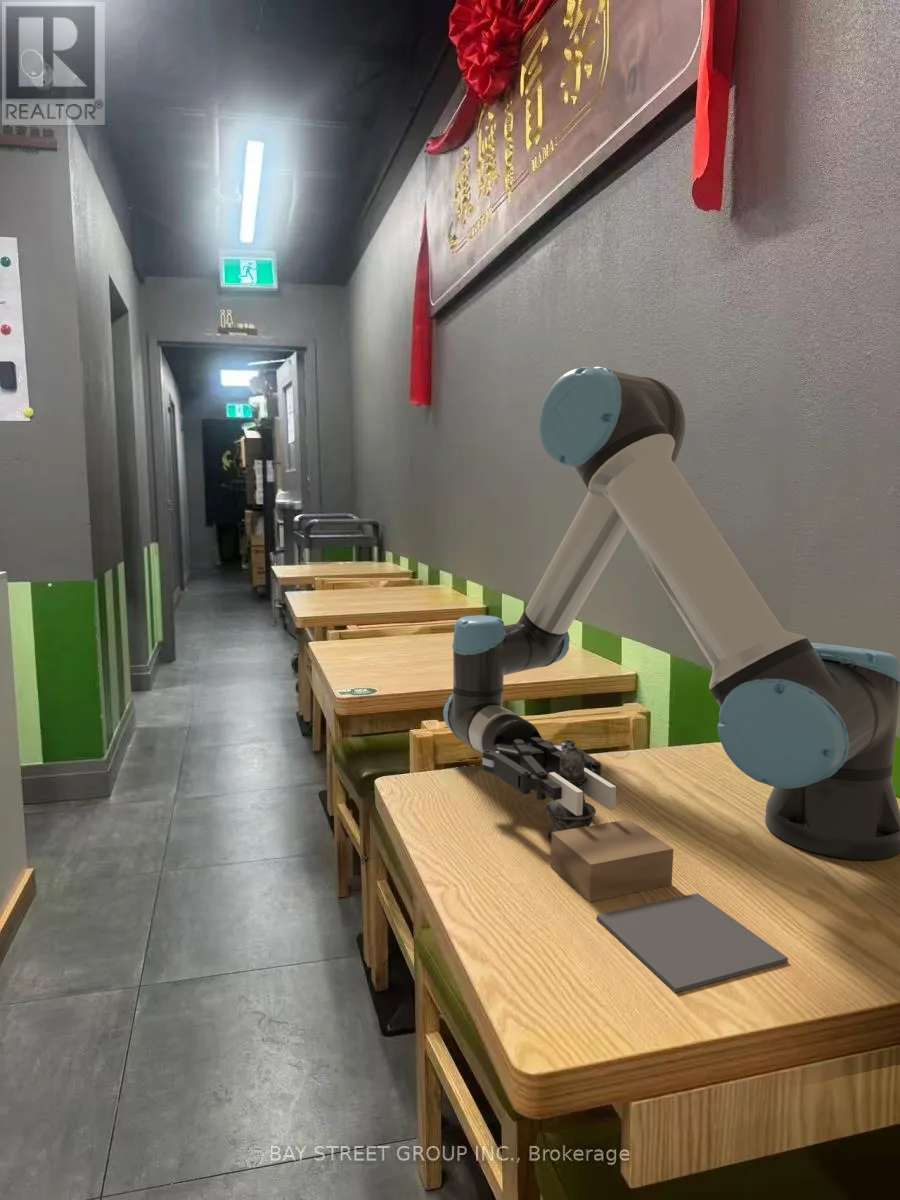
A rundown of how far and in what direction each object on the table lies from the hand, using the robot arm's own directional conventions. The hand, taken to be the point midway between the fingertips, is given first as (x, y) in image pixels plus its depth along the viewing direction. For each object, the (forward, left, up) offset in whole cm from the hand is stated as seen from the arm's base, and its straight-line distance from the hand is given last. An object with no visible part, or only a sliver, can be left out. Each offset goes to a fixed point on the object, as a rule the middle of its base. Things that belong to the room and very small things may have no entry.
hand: (596, 800), depth 88 cm
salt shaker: (+3, -4, -7) cm, 9 cm away
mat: (-11, +14, -7) cm, 19 cm away
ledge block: (-2, +4, -7) cm, 8 cm away
